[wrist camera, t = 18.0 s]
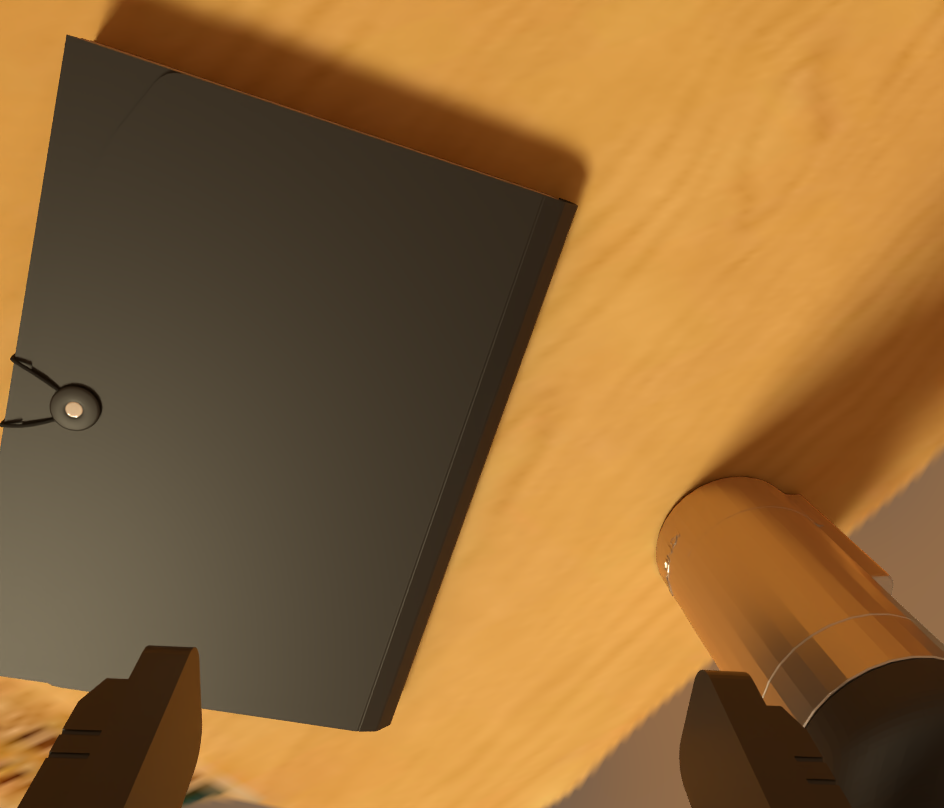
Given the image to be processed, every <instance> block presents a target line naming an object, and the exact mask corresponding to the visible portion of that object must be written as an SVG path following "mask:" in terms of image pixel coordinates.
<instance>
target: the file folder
mask: <svg viewBox="0 0 944 808" xmlns="http://www.w3.org/2000/svg"><path fill="white" fill-rule="evenodd" d="M577 207H578V205H576V204H574V203H572V202H569V201H567V200H564V199H561V198H559V199H556V198H555V197H552V196H550V195H548V194H545V193H542V192H539V191H536V190H533V189H530V188H527V187H524V186H521V185H518V184H515V183H512V182H509V181H506V180H503V179H500V178H497V177H494V176H492V175H489V174H486V173H483V172H480V171H477V170H474V169H471V168H468V167H465V166H462V165H459V164H456V163H453V162H450V161H447V160H444V159H441V158H438V157H435V156H432V155H429V154H426V153H423V152H420V151H417V150H414V149H411V148H408V147H405V146H402V145H400V144H397V143H394V142H391V141H388V140H385V139H382V138H379V137H376V136H373V135H370V134H367V133H364V132H361V131H358V130H355V129H352V128H349V127H346V126H343V125H340V124H337V123H334V122H331V121H328V120H325V119H322V118H319V117H317V116H314V115H311V114H308V113H305V112H302V111H299V110H296V109H293V108H290V107H287V106H284V105H281V104H278V103H275V102H272V101H269V100H266V99H263V98H260V97H257V96H254V95H251V94H248V93H245V92H242V91H239V90H236V89H233V88H230V87H227V86H225V85H222V84H219V83H216V82H213V81H210V80H207V79H204V78H201V77H198V76H195V75H192V74H189V73H186V72H183V71H180V70H177V69H174V68H171V67H168V66H165V65H162V64H159V63H156V62H153V61H150V60H147V59H145V58H142V57H139V56H136V55H133V54H130V53H127V52H124V51H121V50H118V49H115V48H112V47H109V46H106V45H103V44H100V43H97V42H94V41H89V40H86V39H83V38H77V37H73V36H70V35H67V36H66V42H65V48H64V55H63V61H62V67H61V73H60V80H59V86H58V92H57V98H56V104H55V111H54V117H53V123H52V129H51V136H50V142H49V148H48V154H47V161H46V167H45V173H44V179H43V185H42V192H41V198H40V204H39V210H38V217H37V223H36V229H35V235H34V241H33V248H32V254H31V260H30V266H29V273H28V279H27V285H26V291H25V298H24V304H23V310H22V316H21V322H20V329H19V335H18V341H17V347H16V353H15V354H14V355H13V356H12V357H11V358H10V360H11V361H12V362H13V363H14V366H13V372H12V379H11V385H10V391H9V397H8V403H7V410H6V416H5V419H4V420H3V421H2V422H1V423H0V427H4V428H3V435H2V441H1V447H0V676H3V677H10V678H17V679H24V680H31V681H38V682H45V683H49V684H51V685H53V686H57V687H61V688H68V689H75V690H81V691H88V692H90V691H92V690H93V689H94V688H95V687H96V686H97V685H99V684H100V683H101V682H102V681H103V680H105V679H106V678H118V679H129V677H130V675H131V673H132V671H133V669H134V667H135V665H136V663H137V661H138V659H139V657H140V655H141V653H142V652H143V650H144V649H145V647H146V646H148V645H154V646H178V647H196V648H197V649H198V652H199V662H200V687H201V708H203V709H209V710H216V711H223V712H230V713H236V714H243V715H250V716H257V717H263V718H270V719H277V720H284V721H290V722H297V723H304V724H311V725H317V726H324V727H331V728H338V729H344V730H351V731H359V732H363V731H378V730H380V729H382V728H384V727H386V726H388V725H390V724H391V721H392V718H393V715H394V713H395V710H396V707H397V704H398V702H399V699H400V696H401V693H402V691H403V688H404V685H405V682H406V680H407V677H408V674H409V671H410V668H411V666H412V663H413V660H414V657H415V655H416V652H417V649H418V646H419V644H420V641H421V638H422V635H423V632H424V630H425V627H426V624H427V621H428V619H429V616H430V613H431V610H432V608H433V605H434V602H435V599H436V596H437V594H438V591H439V588H440V585H441V583H442V580H443V577H444V574H445V572H446V569H447V566H448V563H449V561H450V558H451V555H452V552H453V549H454V547H455V544H456V541H457V538H458V536H459V533H460V530H461V527H462V525H463V522H464V519H465V516H466V513H467V511H468V508H469V505H470V502H471V500H472V497H473V494H474V491H475V489H476V486H477V483H478V480H479V478H480V475H481V472H482V469H483V466H484V464H485V461H486V458H487V455H488V453H489V450H490V447H491V444H492V442H493V439H494V436H495V433H496V431H497V428H498V425H499V422H500V420H501V417H502V414H503V411H504V408H505V406H506V403H507V400H508V397H509V395H510V392H511V389H512V386H513V384H514V381H515V378H516V375H517V373H518V370H519V367H520V364H521V361H522V359H523V356H524V353H525V350H526V348H527V345H528V342H529V339H530V337H531V334H532V331H533V328H534V326H535V323H536V320H537V317H538V315H539V312H540V309H541V306H542V303H543V301H544V298H545V295H546V292H547V290H548V287H549V284H550V281H551V279H552V276H553V273H554V270H555V268H556V265H557V262H558V259H559V257H560V254H561V251H562V248H563V245H564V243H565V240H566V237H567V234H568V232H569V229H570V226H571V223H572V221H573V218H574V215H575V212H576V210H577Z"/></svg>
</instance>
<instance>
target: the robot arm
mask: <svg viewBox="0 0 944 808" xmlns="http://www.w3.org/2000/svg"><path fill="white" fill-rule="evenodd" d="M656 560H657V565H658V568H659V572H660V575H661V576H662V578H663V580H664V581H665V583H666V585H667V586H668V588H669V591H670V593H671V594H672V596H674V598H675V599H676V601H677V602H678V604H679V605H680V607H681V609H682V610H683V612H684V614H685V616H686V617H687V619H688V620H689V622H690V624H691V625H692V627H693V628H694V630H695V631H696V633H697V635H698V636H699V638H700V639H701V641H702V643H703V644H704V646H705V647H706V649H707V650H708V652H709V654H710V655H711V657H712V658H713V660H714V662H715V663H716V665H717V666H718V668H719V669H720V671H712V670H700V671H699V672H698V673H697V675H696V677H695V681H694V685H693V689H692V694H691V698H690V702H689V707H688V711H687V716H686V720H685V724H684V729H683V734H682V738H681V743H680V753H679V754H680V755H679V759H680V771H681V777H682V781H683V785H684V787H685V791H686V793H687V796H688V799H689V802H690V805H691V807H692V808H944V644H943V643H942V642H941V641H940V640H939V639H937V638H936V637H935V636H934V635H933V634H932V633H931V632H930V631H929V630H928V629H926V628H925V627H924V626H923V625H922V624H921V623H920V622H919V621H918V620H917V619H916V618H915V617H914V616H913V615H911V614H910V613H909V612H908V611H907V610H906V609H905V608H904V607H903V606H902V605H901V604H900V603H899V602H897V600H896V599H894V598H893V597H892V596H891V594H892V589H893V580H892V578H891V576H890V575H889V574H888V573H887V572H886V571H885V570H884V569H882V568H881V567H880V566H879V565H878V564H877V563H876V562H875V561H874V560H872V559H871V558H870V557H869V556H868V555H867V554H866V553H865V552H864V551H863V550H861V549H860V548H859V547H858V546H857V545H856V544H855V543H854V542H852V541H851V540H850V539H849V538H848V537H847V536H846V535H845V534H844V533H843V532H841V531H840V530H839V529H838V528H837V527H836V526H835V525H834V524H833V523H832V522H830V521H829V520H828V519H827V518H826V517H825V516H824V515H823V514H822V513H820V512H819V511H818V510H817V509H816V508H815V507H814V506H813V505H812V504H810V503H809V502H808V501H807V500H806V499H805V498H804V497H803V496H802V495H800V494H795V495H789V494H785V493H783V492H781V491H780V490H778V489H777V488H776V487H774V486H773V485H771V484H770V483H767V482H765V481H762V480H760V479H756V478H749V477H728V478H724V479H720V480H716V481H712V482H710V483H708V484H706V485H704V486H701V487H699V488H697V489H696V490H695V491H693V492H692V493H690V494H689V495H687V496H686V497H685V498H684V499H683V500H682V501H681V502H680V503H678V504H677V505H676V506H675V507H674V509H673V510H672V511H671V513H670V514H669V516H668V517H667V519H666V520H665V522H664V524H663V526H662V529H661V531H660V533H659V537H658V542H657V547H656ZM201 734H202V711H201V687H200V662H199V652H198V649H197V648H196V647H178V646H154V645H148V646H146V647H145V649H144V650H143V652H142V653H141V655H140V657H139V659H138V661H137V663H136V665H135V667H134V669H133V671H132V673H131V675H130V677H129V679H118V678H106V679H105V680H103V681H102V682H101V683H100V684H99V685H97V686H96V687H95V688H94V689H93V690H92V691H90V692H89V693H88V694H87V695H86V696H84V697H83V698H82V699H81V700H80V701H78V703H77V705H76V707H75V708H74V710H73V712H72V714H71V715H70V717H69V719H68V721H67V722H66V724H65V726H64V728H63V731H62V735H59V736H58V738H57V740H56V741H55V743H54V745H53V747H52V748H51V750H50V752H49V757H48V758H46V759H45V761H44V762H43V764H42V766H41V768H40V769H39V771H38V773H37V774H36V776H35V778H34V780H33V781H32V783H31V785H30V787H29V788H28V790H27V792H26V794H25V795H24V797H23V799H22V801H21V802H20V804H19V806H18V808H181V807H182V804H183V801H184V799H185V796H186V793H187V790H188V787H189V784H190V781H191V778H192V776H193V773H194V770H195V767H196V763H197V759H198V755H199V750H200V743H201Z"/></svg>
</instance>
